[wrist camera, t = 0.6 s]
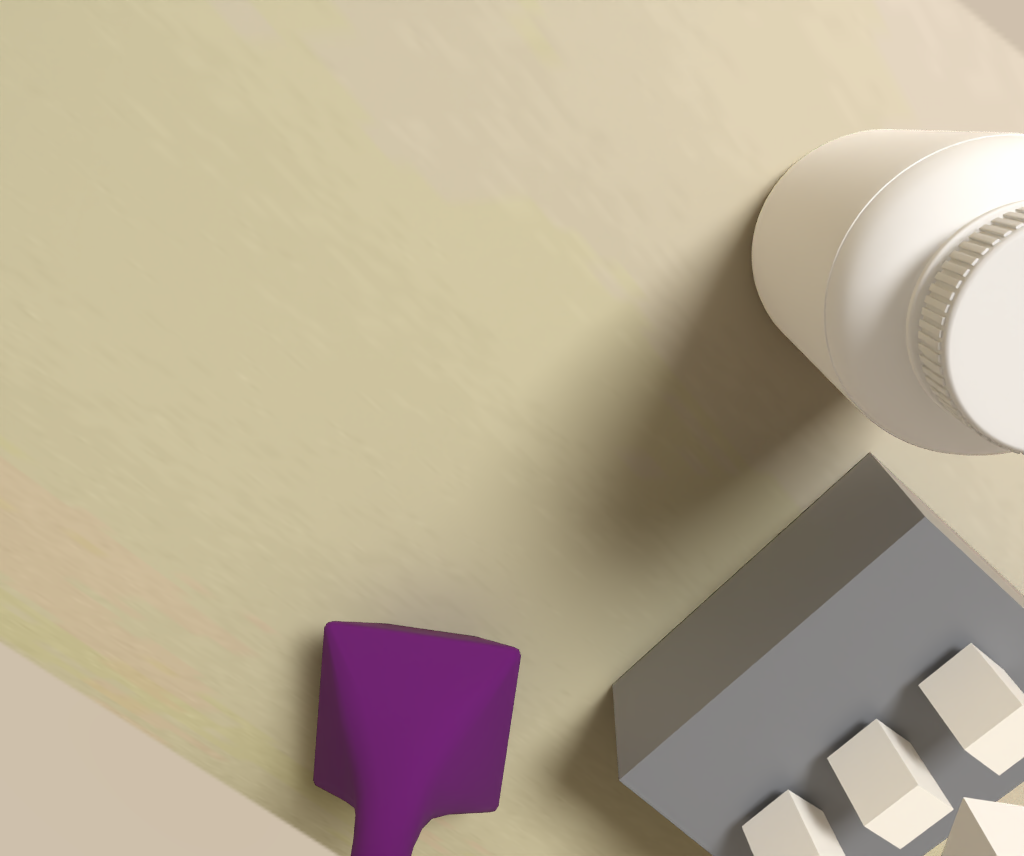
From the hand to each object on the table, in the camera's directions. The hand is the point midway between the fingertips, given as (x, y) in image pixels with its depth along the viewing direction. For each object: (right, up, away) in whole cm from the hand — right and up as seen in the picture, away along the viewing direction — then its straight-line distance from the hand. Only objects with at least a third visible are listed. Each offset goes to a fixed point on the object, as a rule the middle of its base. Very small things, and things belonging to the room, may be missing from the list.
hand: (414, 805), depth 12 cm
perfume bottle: (-2, -6, +29) cm, 29 cm away
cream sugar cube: (+16, -4, +20) cm, 26 cm away
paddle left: (+11, -9, +22) cm, 26 cm away
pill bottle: (+13, +11, +22) cm, 28 cm away
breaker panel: (+14, -4, +27) cm, 31 cm away
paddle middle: (+13, -6, +21) cm, 26 cm away
